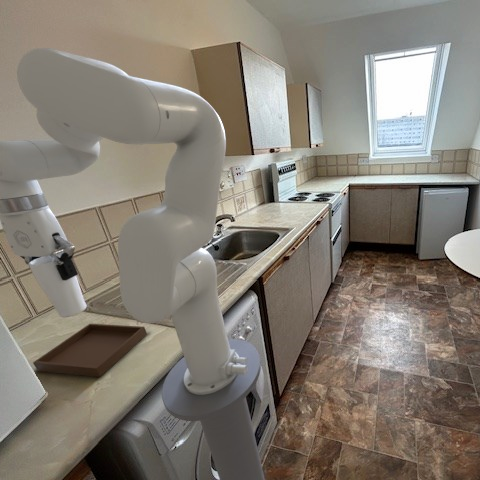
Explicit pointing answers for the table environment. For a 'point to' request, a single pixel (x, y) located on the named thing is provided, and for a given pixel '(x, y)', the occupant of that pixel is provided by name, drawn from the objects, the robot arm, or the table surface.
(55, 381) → the table surface
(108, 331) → the tray
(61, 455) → the table surface
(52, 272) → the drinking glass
